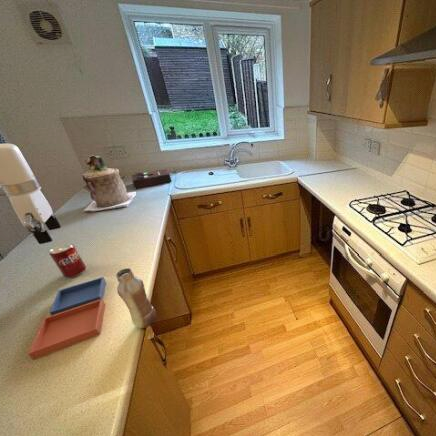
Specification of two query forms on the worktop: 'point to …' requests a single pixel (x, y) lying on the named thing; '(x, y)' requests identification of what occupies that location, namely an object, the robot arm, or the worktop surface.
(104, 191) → the cookie jar
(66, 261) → the soda can
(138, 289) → the plastic bottle
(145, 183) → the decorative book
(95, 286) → the blue tray
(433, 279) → the worktop surface
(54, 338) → the terracotta tray
